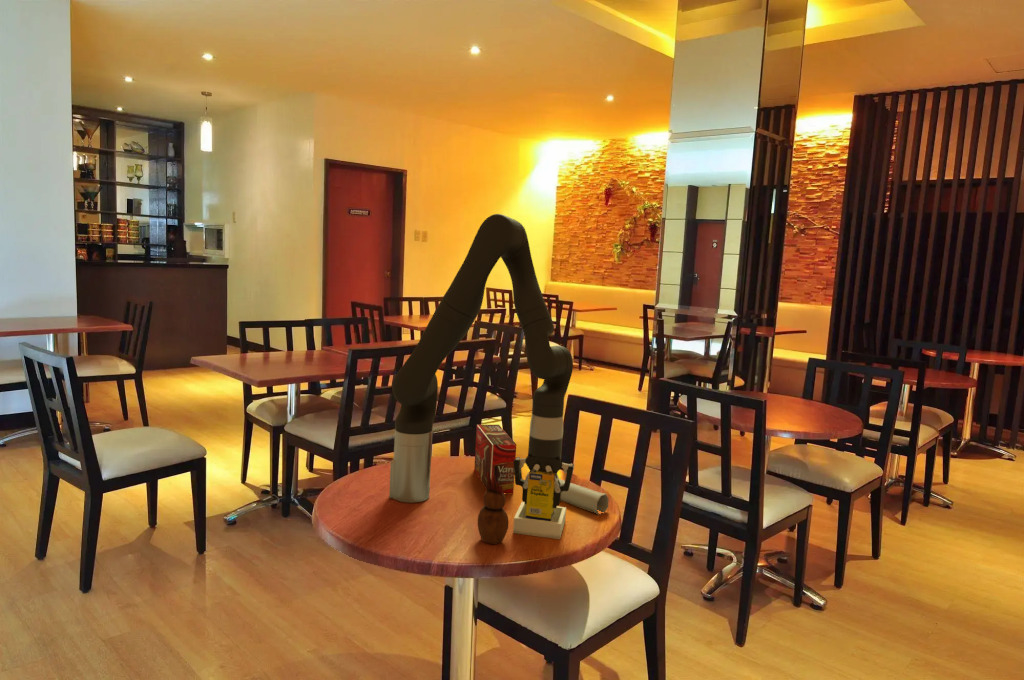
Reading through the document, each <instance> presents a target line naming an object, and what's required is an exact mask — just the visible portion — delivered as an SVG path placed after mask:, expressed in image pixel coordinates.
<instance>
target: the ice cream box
mask: <svg viewBox="0 0 1024 680" xmlns="http://www.w3.org/2000/svg"><path fill="white" fill-rule="evenodd" d="M475 434H476V436H475V449H474V450H475V452H474V469H473V470H474V472H475V474H476V475H477V477H478V476H479V477H478V478H479V480H480V481H482V482H481V483H482V485H483V484H484V485H483V487H484V486H485V487H486V488H485V487H484V488H485V490H486V489H487V478H488V472H490V477H491V482H492V481H493V477H494V476H495V479H496V483H497V482H498V481H499V487H500V486H502V492H503V493H513V494H514V489H515V488H514V486H515V474H514V460H515V459H516V457H517V454H516V453H517V443H516V442H515V441H514V440H513V439H512V438H511V437H510V436H509V434H508V433H507V432H506V431H505V430H504V429H503V427H502V426H501V425H500V424H476V433H475Z"/></svg>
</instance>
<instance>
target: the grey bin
mask: <svg viewBox="0 0 1024 680" xmlns="http://www.w3.org/2000/svg"><path fill="white" fill-rule="evenodd" d="M526 505H527V504H525V502H523V501H521V503H520V505H519V507H518V509H517V511H516V512H515V515H514V517H513V527H512V533H513V534H517V535H527V536H531V535H532V537H533V536H534V537H540V538H545V539H546V538H549V539H556V540H561V538H562V537H561V536H562V534H563V530H564V527H565V523H566V518H567V517H566V516H567V507H566V506H565V507H564V506H560V505H559V506H557V507H556V508H555V509H554V514H553V516H552V518H551V521H543V520H536V519H528V518H526Z"/></svg>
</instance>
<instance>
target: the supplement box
mask: <svg viewBox="0 0 1024 680" xmlns="http://www.w3.org/2000/svg"><path fill="white" fill-rule="evenodd" d="M528 473H529V476H528V491H527V505H526V518H528V519H536V520H543V521H551V518H552V516H553V514H554V509H555V508H553V501H554V492H555V489H554V486H555V477H557V475H558V472H557V473H556V474H555V473H554V474H549V473H547V472H541V471H537V472H531V471H530V470H529V472H528Z"/></svg>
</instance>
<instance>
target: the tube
mask: <svg viewBox="0 0 1024 680" xmlns="http://www.w3.org/2000/svg"><path fill="white" fill-rule="evenodd" d="M528 475H529V472H527V474H526V476H525V479H524V480H526V479H527V477H528ZM559 481H560V483H561V485H562V484H564V483H565V479H560V478H559ZM560 502H564V503H567V504H570V505H571V504H572V505H571V506H574V505H575V507H577V506H578V508H579V507H581V508H580V509H582V508H583V510H585V509H586V510H585V511H587V510H589V511H588V512H590V511H592V512H591V513H593V512H594V513H593V514H595V513H596V515H597V514H598V515H597V516H599V513H598V511H597V510H599V511H601V512H604V513H603V514H605V513H606V511H607V510H608V509H609V502H610V499H609V497H608V495H607V493H606V492H605V493H603V492H600V491H596V490H593V489H592V488H591V489H590V488H588V487H585V486H582V485H579V484H575V483H572V482H571V483H570V487H569V490H568V491H563V492H561V499H560Z"/></svg>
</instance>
